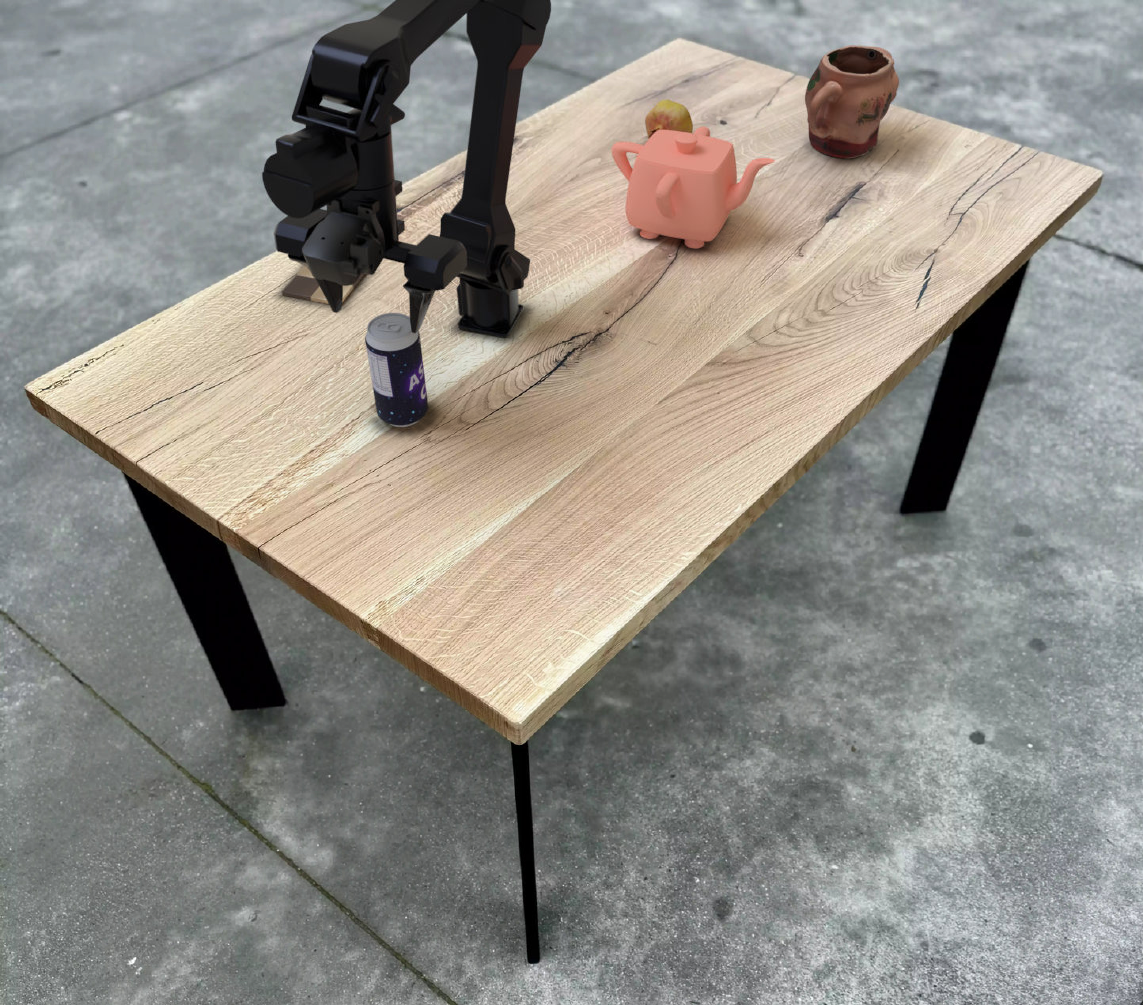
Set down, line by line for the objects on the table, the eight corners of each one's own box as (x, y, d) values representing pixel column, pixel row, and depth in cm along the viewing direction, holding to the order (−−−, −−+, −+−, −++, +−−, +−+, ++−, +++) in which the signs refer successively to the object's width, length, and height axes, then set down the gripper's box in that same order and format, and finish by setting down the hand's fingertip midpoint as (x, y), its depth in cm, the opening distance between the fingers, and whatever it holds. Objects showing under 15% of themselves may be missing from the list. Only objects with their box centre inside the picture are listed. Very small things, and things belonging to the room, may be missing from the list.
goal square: (367, 272, 142) (366, 268, 141) (339, 306, 136) (339, 302, 136) (311, 262, 143) (310, 258, 143) (282, 295, 138) (281, 291, 138)
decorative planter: (844, 188, 157) (862, 94, 148) (769, 163, 162) (782, 71, 153) (903, 136, 169) (923, 46, 159) (831, 115, 174) (847, 26, 164)
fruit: (659, 89, 167) (630, 113, 161) (700, 87, 164) (672, 112, 158) (666, 133, 171) (637, 159, 165) (706, 132, 168) (679, 158, 162)
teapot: (603, 212, 152) (605, 123, 143) (701, 188, 157) (709, 100, 148) (661, 273, 142) (667, 180, 132) (764, 245, 147) (777, 153, 137)
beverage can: (420, 434, 119) (408, 345, 111) (370, 427, 120) (355, 338, 111) (435, 402, 123) (425, 313, 114) (387, 395, 124) (373, 307, 115)
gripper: (229, 191, 100) (254, 338, 110) (411, 234, 95) (420, 383, 105) (296, 147, 107) (314, 287, 118) (467, 184, 103) (470, 327, 113)
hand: (376, 321), depth 113 cm, fingers open, 9 cm apart
